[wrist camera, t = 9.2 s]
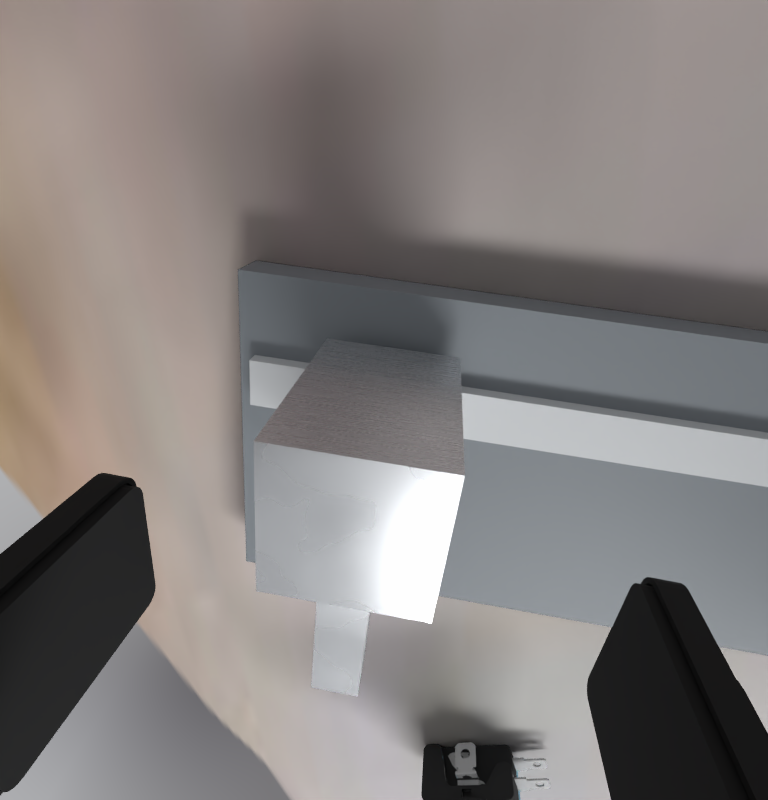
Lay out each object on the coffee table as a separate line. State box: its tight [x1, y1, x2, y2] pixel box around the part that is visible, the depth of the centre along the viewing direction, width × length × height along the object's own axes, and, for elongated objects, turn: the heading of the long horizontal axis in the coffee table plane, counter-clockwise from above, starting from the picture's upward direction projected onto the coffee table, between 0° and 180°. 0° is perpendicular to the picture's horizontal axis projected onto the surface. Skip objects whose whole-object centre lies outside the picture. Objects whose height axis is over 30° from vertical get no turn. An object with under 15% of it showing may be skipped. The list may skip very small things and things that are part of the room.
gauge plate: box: [238, 261, 768, 656], centre depth 14 cm, size 28×12×8 cm, turn 84°
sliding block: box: [254, 338, 465, 697], centre depth 13 cm, size 4×7×6 cm, turn 174°
